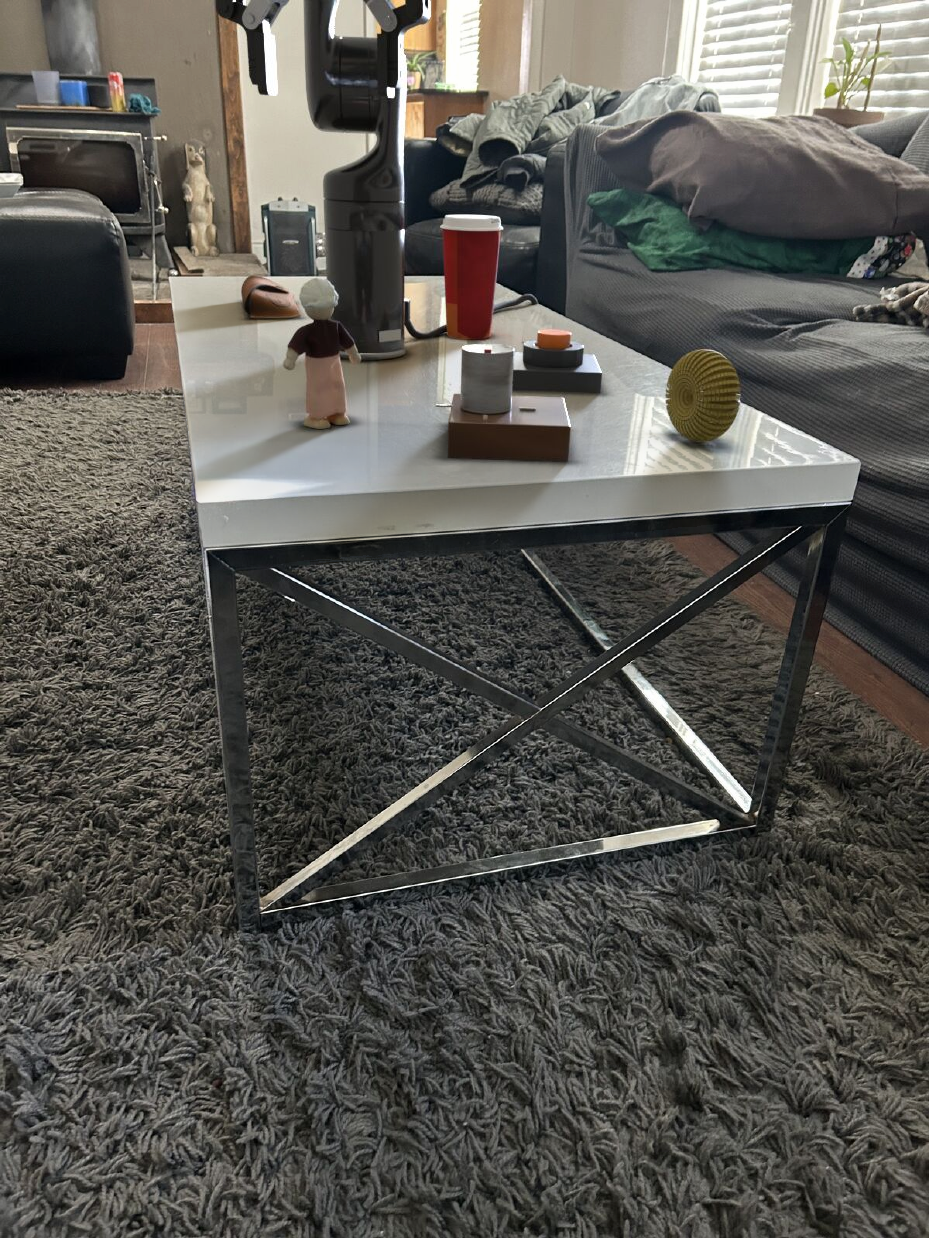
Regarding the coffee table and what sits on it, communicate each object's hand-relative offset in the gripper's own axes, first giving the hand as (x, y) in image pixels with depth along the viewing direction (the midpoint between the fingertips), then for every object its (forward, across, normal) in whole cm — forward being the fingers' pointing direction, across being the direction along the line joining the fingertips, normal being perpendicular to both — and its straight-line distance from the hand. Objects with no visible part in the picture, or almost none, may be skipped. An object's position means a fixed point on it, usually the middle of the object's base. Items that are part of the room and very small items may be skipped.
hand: (326, 96), depth 67 cm
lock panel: (+26, -13, -8) cm, 30 cm away
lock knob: (+23, -11, -7) cm, 27 cm away
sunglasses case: (+27, +30, -71) cm, 82 cm away
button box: (+26, -15, -33) cm, 45 cm away
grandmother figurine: (+26, +4, -10) cm, 28 cm away
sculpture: (+26, -30, -13) cm, 42 cm away
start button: (+23, -15, -33) cm, 43 cm away
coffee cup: (+26, -2, -59) cm, 64 cm away
